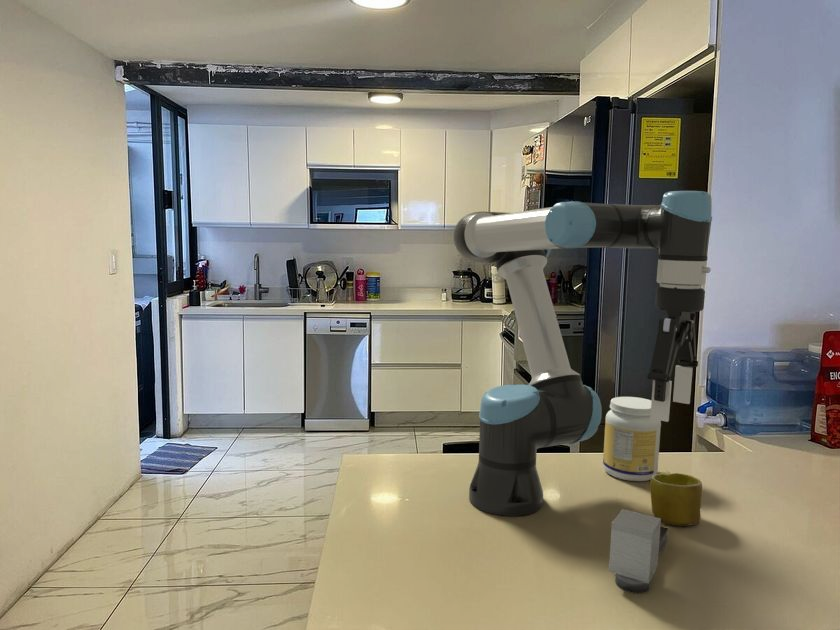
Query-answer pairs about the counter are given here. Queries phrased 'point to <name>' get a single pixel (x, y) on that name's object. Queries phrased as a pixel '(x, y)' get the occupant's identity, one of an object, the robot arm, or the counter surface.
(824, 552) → the counter surface
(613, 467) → the supplement tub
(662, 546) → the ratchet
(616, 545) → the grey block
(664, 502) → the mug
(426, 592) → the counter surface
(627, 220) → the robot arm
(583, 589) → the counter surface
